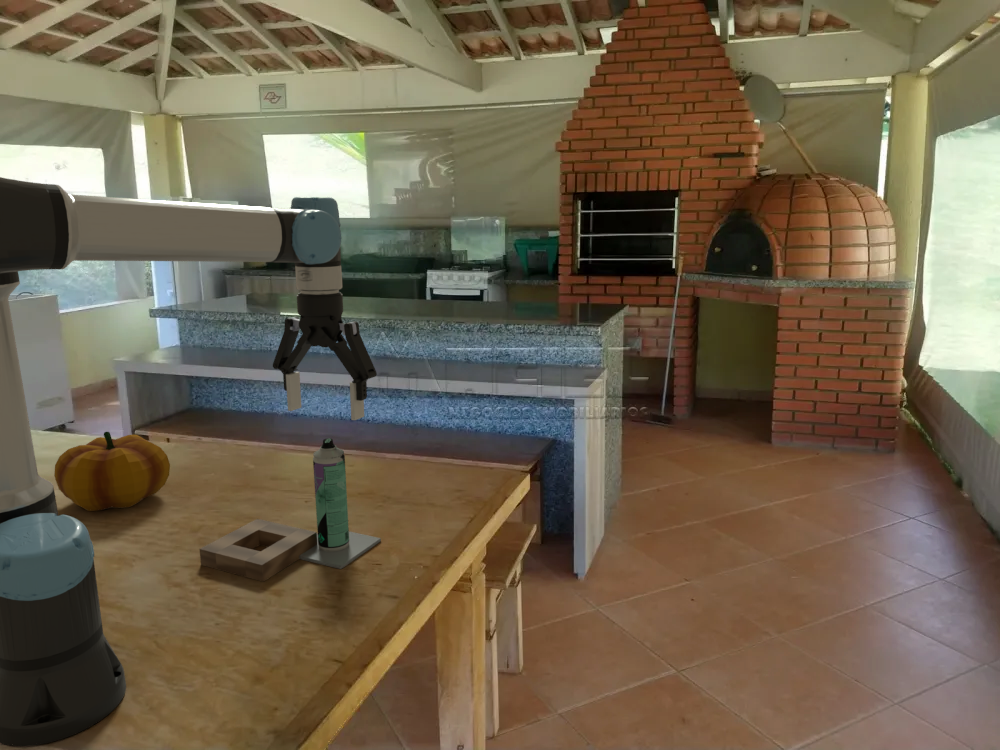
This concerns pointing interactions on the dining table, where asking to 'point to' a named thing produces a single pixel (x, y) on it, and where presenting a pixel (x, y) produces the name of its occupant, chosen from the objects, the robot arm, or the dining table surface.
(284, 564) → the eye block
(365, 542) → the slate tile
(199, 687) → the dining table surface
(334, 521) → the spray can
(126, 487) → the decorative pumpkin
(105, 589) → the dining table surface
